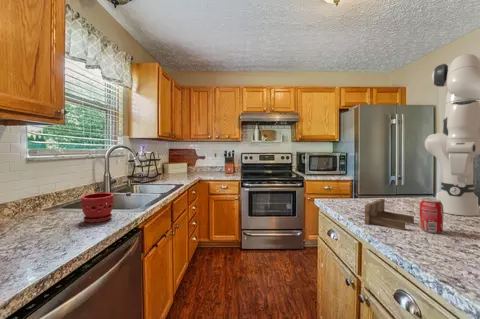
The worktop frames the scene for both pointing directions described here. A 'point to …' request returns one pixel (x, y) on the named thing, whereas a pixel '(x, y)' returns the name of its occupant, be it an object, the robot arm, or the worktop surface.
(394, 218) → the bay
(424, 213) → the soda can
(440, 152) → the robot arm
